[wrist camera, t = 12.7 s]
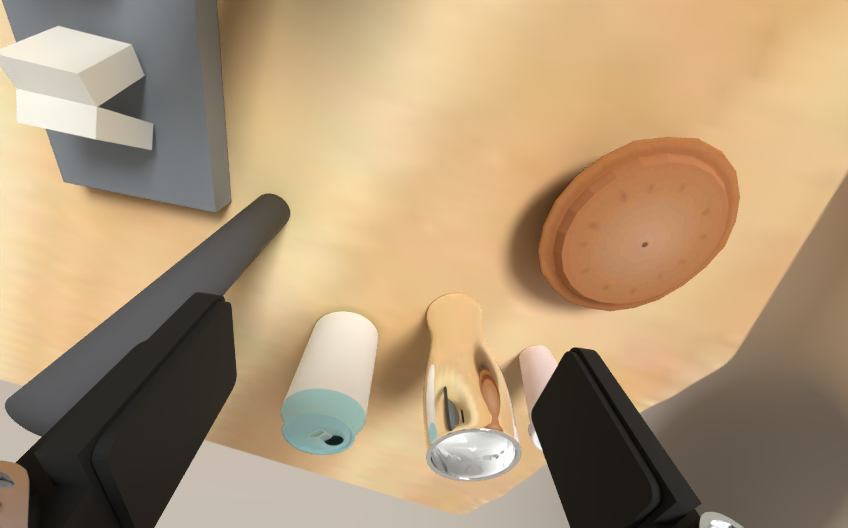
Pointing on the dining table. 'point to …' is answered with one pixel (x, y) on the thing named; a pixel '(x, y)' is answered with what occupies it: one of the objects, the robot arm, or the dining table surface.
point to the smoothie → (535, 379)
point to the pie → (639, 223)
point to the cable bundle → (147, 314)
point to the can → (331, 385)
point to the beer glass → (465, 396)
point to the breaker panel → (149, 98)
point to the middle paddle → (71, 65)
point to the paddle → (82, 120)
